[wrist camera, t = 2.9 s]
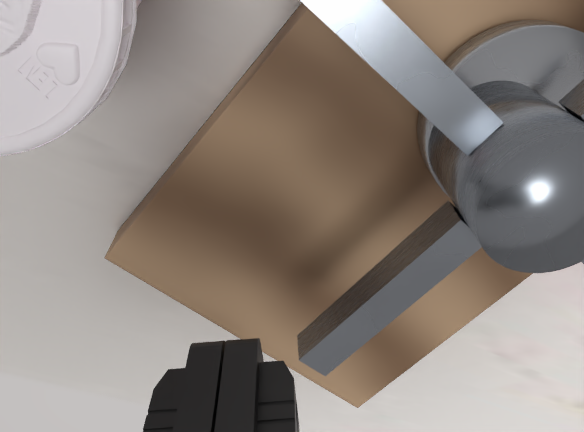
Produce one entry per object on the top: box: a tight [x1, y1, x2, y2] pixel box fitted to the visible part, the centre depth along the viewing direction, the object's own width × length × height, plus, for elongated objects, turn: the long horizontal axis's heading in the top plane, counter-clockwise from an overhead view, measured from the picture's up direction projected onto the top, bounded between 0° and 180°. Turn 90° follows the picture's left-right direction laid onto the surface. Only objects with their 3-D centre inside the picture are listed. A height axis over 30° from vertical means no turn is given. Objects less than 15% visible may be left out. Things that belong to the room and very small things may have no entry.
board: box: [105, 0, 584, 408], centre depth 20 cm, size 20×14×2 cm
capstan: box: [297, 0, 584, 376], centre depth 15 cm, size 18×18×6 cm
